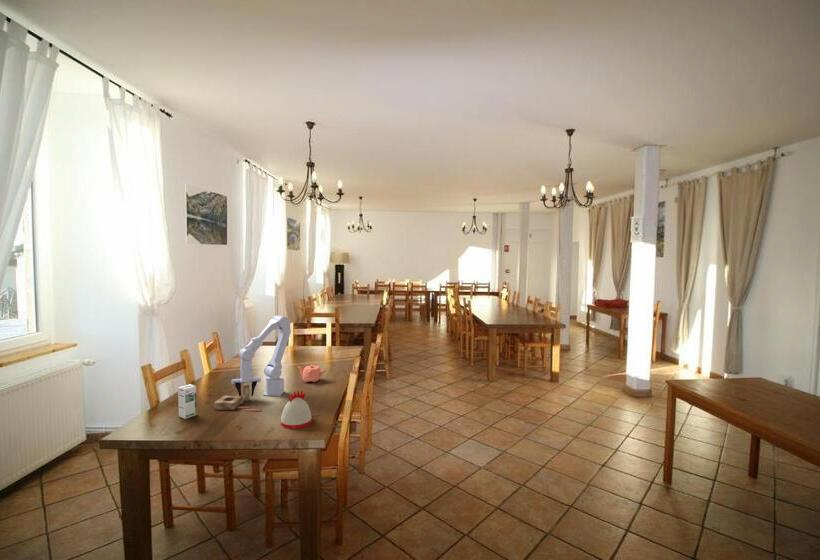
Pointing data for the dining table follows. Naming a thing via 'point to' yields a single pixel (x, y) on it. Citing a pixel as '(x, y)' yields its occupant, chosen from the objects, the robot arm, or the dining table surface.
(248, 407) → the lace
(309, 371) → the teapot
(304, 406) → the kitchen timer
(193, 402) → the syrup box
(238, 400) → the wooden square frame
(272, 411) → the dining table surface
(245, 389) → the tan round log
